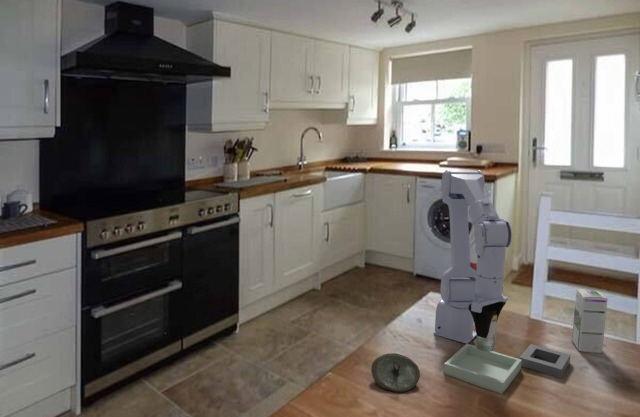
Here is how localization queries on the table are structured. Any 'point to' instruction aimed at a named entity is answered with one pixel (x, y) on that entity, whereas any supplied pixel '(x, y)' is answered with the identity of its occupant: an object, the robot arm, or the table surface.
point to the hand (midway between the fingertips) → (485, 333)
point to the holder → (543, 366)
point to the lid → (395, 372)
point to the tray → (483, 368)
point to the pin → (488, 338)
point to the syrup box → (589, 320)
